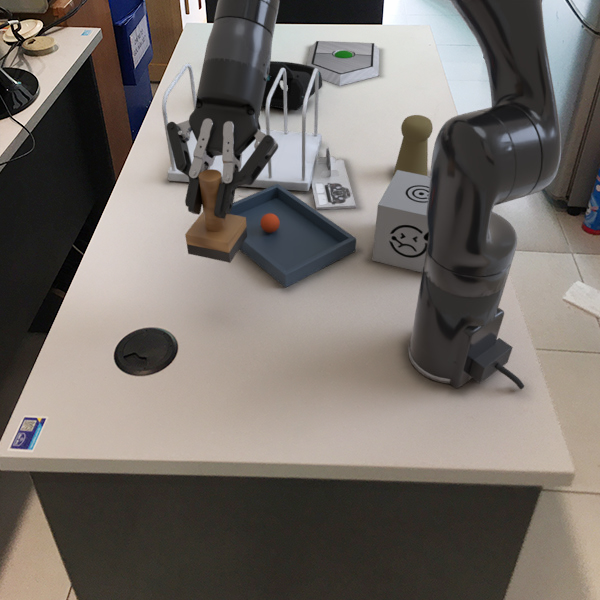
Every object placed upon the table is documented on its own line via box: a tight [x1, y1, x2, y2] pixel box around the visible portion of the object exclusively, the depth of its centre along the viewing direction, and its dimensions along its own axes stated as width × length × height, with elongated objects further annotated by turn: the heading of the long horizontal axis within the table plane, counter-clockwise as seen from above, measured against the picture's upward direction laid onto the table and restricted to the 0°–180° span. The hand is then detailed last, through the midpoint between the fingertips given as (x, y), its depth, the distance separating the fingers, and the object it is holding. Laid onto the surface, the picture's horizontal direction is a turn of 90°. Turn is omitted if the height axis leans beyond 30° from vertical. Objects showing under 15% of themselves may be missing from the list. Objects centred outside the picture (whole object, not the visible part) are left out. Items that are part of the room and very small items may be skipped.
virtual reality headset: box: [262, 60, 323, 111], centre depth 134 cm, size 19×22×10 cm
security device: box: [305, 40, 380, 87], centre depth 147 cm, size 17×22×2 cm
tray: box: [230, 184, 357, 288], centre depth 98 cm, size 20×14×2 cm
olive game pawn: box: [393, 114, 433, 177], centre depth 108 cm, size 6×6×11 cm
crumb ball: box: [261, 213, 280, 233], centre depth 98 cm, size 3×3×3 cm
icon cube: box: [371, 170, 430, 274], centre depth 93 cm, size 10×10×10 cm
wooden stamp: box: [184, 169, 247, 264], centre depth 75 cm, size 6×6×10 cm
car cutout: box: [310, 147, 357, 211], centre depth 109 cm, size 15×7×4 cm, turn 5°
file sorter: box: [161, 63, 323, 192], centre depth 110 cm, size 25×17×16 cm
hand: (206, 214), depth 73 cm, fingers closed on wooden stamp, 2 cm apart
